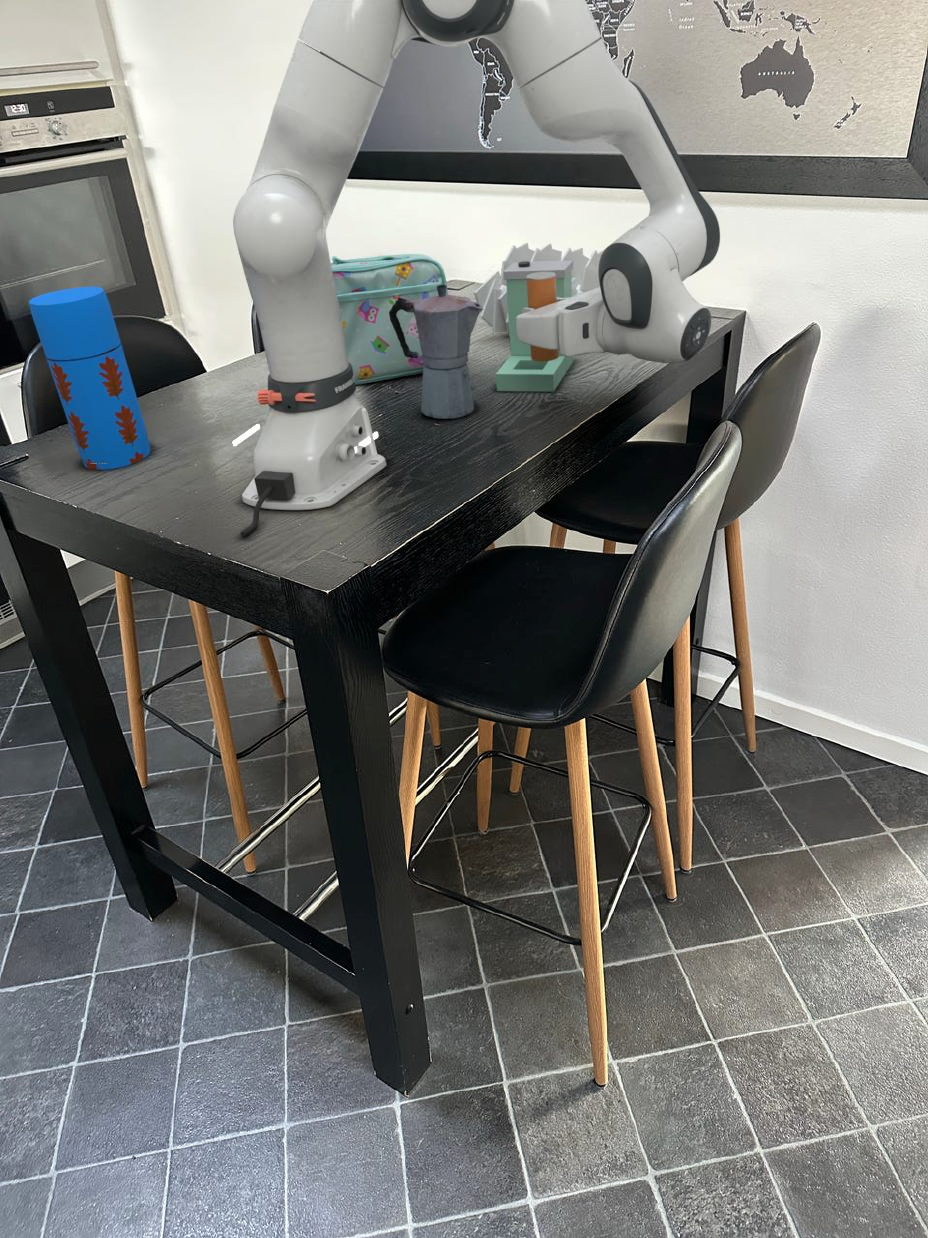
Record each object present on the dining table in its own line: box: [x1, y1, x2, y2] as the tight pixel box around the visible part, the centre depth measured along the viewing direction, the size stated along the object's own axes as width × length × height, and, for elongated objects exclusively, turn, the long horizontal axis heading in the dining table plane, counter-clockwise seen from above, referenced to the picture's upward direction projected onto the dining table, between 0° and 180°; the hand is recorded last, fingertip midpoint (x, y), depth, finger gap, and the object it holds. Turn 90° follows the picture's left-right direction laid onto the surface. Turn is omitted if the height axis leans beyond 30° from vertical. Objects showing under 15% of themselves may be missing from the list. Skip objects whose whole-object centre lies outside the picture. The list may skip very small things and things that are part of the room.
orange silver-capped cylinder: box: [526, 272, 559, 362], centre depth 140 cm, size 4×4×12 cm
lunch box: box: [331, 253, 449, 386], centre depth 163 cm, size 27×10×21 cm, turn 102°
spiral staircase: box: [473, 242, 607, 337], centre depth 174 cm, size 18×18×25 cm
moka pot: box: [389, 285, 483, 420], centre depth 144 cm, size 10×15×20 cm, turn 78°
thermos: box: [28, 286, 151, 471], centre depth 139 cm, size 11×11×25 cm
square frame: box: [495, 355, 567, 393], centre depth 157 cm, size 10×10×3 cm
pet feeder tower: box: [504, 260, 575, 373], centre depth 160 cm, size 7×11×18 cm, turn 73°
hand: (538, 308), depth 140 cm, fingers closed on orange silver-capped cylinder, 4 cm apart
